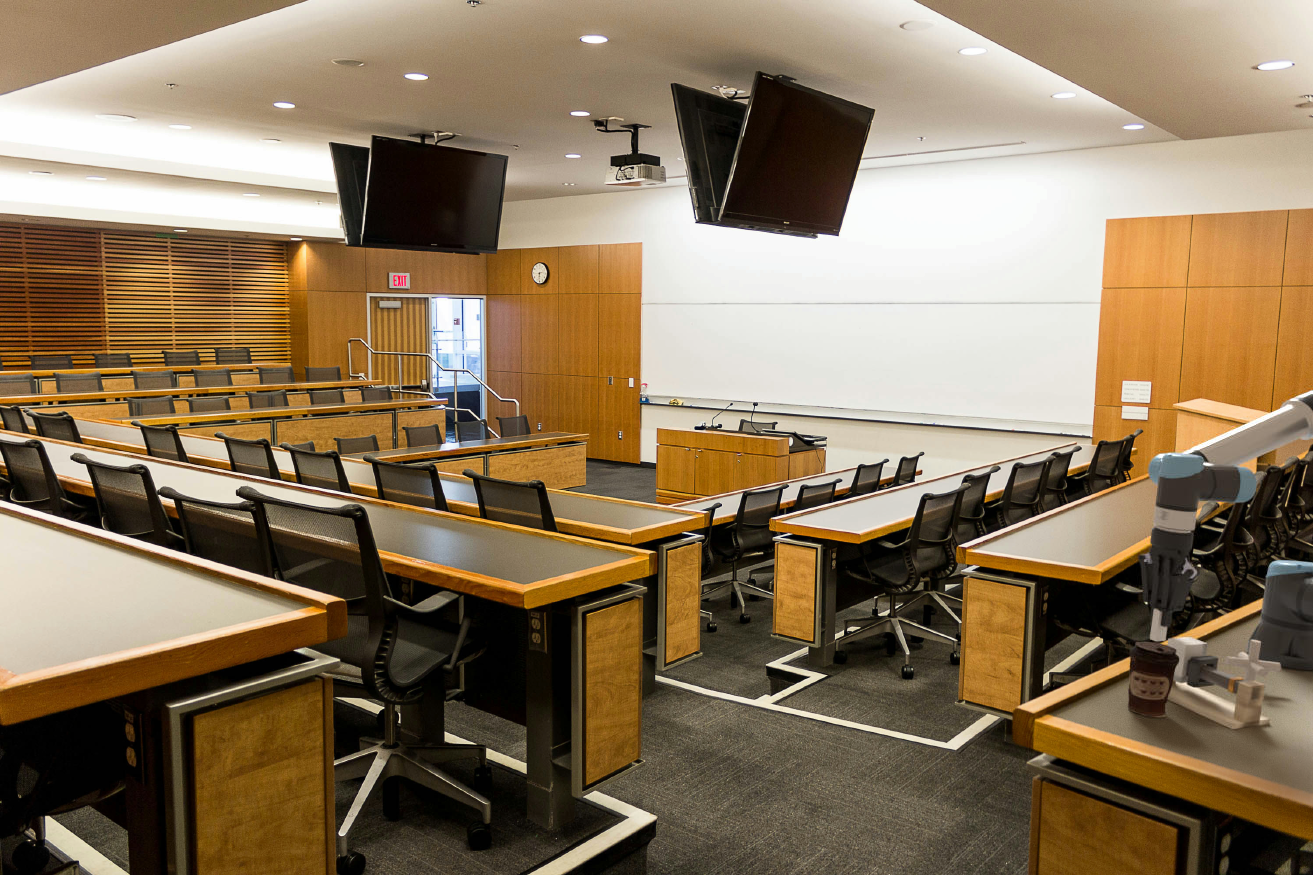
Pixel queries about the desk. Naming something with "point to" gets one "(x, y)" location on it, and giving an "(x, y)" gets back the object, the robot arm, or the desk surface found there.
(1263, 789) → the desk surface
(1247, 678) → the pipe connector
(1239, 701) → the pipe rig
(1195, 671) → the dark grey block
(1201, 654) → the sleeve
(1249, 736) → the desk surface
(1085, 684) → the desk surface
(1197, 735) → the desk surface
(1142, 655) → the coffee cup
